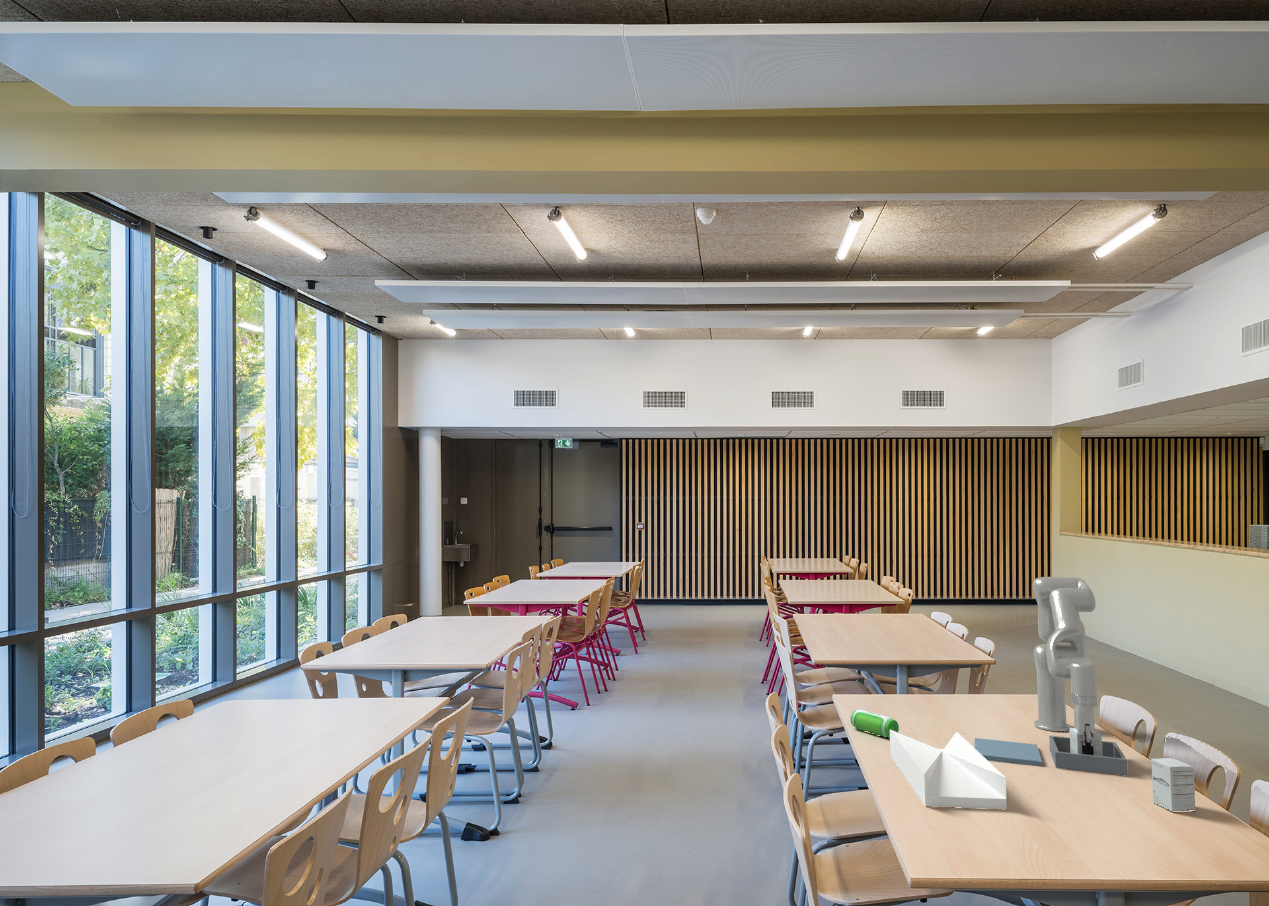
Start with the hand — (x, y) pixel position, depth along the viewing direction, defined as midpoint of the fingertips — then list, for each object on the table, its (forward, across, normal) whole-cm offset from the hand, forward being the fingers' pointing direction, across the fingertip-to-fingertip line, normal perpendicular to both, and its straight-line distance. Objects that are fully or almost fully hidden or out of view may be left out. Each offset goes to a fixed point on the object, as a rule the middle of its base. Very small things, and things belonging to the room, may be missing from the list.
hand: (1086, 754), depth 258 cm
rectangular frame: (+3, 0, 0) cm, 3 cm away
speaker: (+3, -7, -69) cm, 69 cm away
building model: (+3, +37, -44) cm, 57 cm away
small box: (+3, 0, 0) cm, 3 cm away
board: (+3, 0, -24) cm, 24 cm away
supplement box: (+3, +35, +17) cm, 39 cm away
